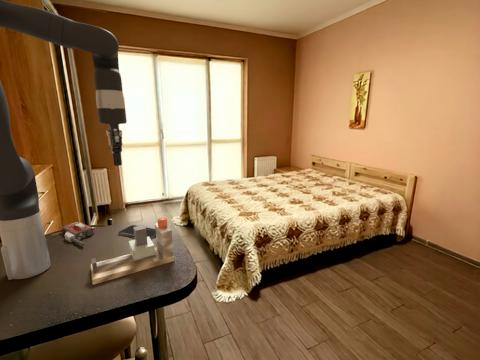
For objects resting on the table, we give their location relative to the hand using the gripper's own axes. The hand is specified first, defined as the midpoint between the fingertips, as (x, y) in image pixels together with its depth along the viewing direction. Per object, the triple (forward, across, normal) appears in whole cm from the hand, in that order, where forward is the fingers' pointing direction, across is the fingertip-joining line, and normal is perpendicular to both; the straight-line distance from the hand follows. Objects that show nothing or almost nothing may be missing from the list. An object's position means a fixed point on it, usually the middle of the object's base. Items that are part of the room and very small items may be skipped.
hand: (117, 165), depth 79 cm
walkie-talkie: (+30, -20, -14) cm, 38 cm away
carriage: (+25, +11, +3) cm, 28 cm away
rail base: (+29, +11, 0) cm, 31 cm away
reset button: (+19, +11, +10) cm, 24 cm away
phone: (+29, -11, +6) cm, 32 cm away
